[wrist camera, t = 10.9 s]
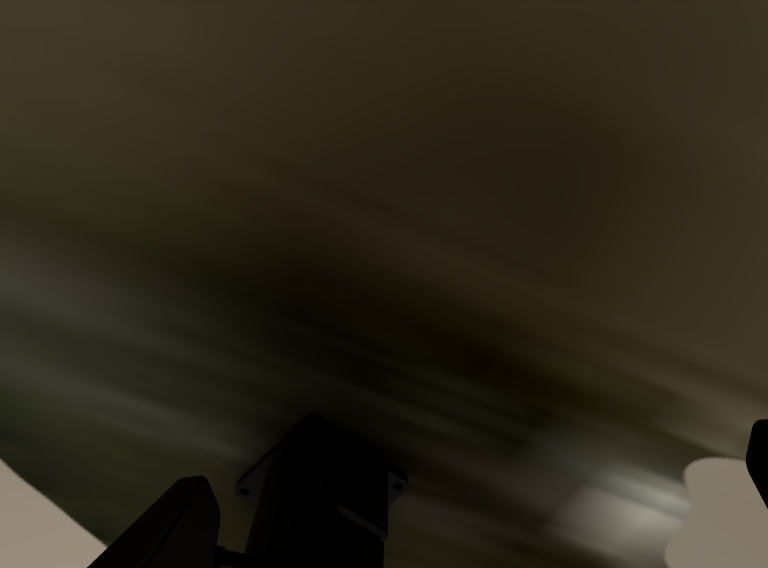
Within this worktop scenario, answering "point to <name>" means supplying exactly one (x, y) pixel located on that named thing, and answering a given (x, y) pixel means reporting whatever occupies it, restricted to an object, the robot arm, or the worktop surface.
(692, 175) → the worktop surface
